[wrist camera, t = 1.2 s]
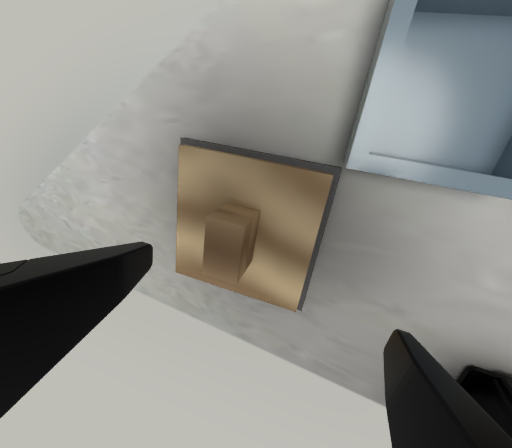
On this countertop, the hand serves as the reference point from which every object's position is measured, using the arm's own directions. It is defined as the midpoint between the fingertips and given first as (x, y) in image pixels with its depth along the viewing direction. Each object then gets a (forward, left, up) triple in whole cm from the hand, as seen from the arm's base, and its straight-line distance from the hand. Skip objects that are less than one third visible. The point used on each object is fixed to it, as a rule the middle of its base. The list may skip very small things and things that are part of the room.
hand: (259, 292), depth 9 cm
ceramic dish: (+9, -7, -14) cm, 18 cm away
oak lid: (-4, +5, -13) cm, 14 cm away
